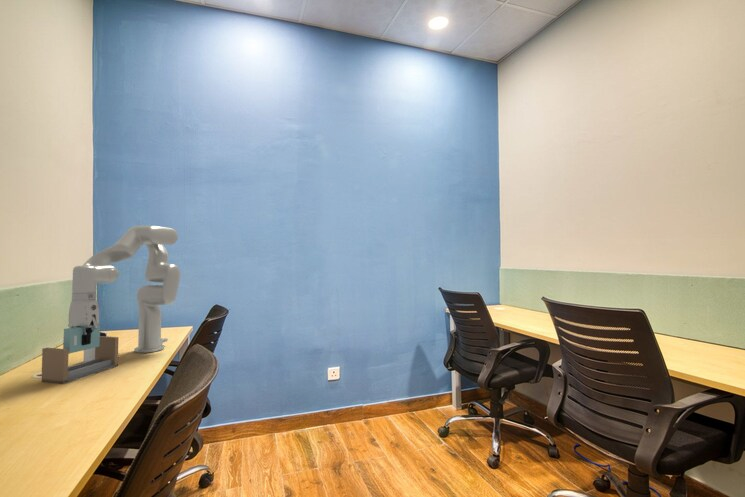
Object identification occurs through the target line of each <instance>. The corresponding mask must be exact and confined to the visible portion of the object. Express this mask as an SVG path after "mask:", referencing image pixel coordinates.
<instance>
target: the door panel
mask: <svg viewBox="0 0 745 497" xmlns="http://www.w3.org/2000/svg"><path fill="white" fill-rule="evenodd" d="M87 329H88V328H87ZM100 332H101V324H100V323H99V324H98V328H96V329H94V331H93V333H92V334H91V343H90V344H87V345H82V335H84V334H83V327H73V328H69V327H68V328H64V329H63V344H62V349H69V354H74V353H78V352H82V351H83V352H84V350H87V349H91V348H95V347H99V344H100Z"/></svg>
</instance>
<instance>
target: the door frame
mask: <svg viewBox="0 0 745 497" xmlns="http://www.w3.org/2000/svg"><path fill="white" fill-rule="evenodd" d="M41 351H42V353H41V382H42V383H50V384H52V383H53V384H60V385H65V384H67V383H70V382H73V381H76V380H80V379H83V378H86V377H88V376H91V375H95V374H98V373H101V372H104V371H107V370H110V369H112V368H116V367H118V366H119V337H118V336H100V344H99V347H95V359H94V360H91V361H87V362H84V361H83V362H81V363H77V364H73V365H70V366H69V349H63V348H55V347H44V348H42V350H41Z"/></svg>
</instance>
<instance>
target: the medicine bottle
mask: <svg viewBox="0 0 745 497" xmlns="http://www.w3.org/2000/svg"><path fill="white" fill-rule="evenodd" d="M100 336H107V332H104V331H100ZM94 359H95V348H91V349H87V350H83V363H84V362H87V361H91V360H94Z"/></svg>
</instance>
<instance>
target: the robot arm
mask: <svg viewBox="0 0 745 497" xmlns="http://www.w3.org/2000/svg"><path fill="white" fill-rule="evenodd" d="M178 239H179V235H178V232H177V230H176V229H174V228H173V227H172V228H171V227H168V226H167V227H165V226H158V225H134V226H131V227H130V228H128V230H127V231H126V232H125V233H123V235H122V236H121V237H120V238H119V239H118V240H117V241H116V242H115V243H114V244H113V245H111V246H109V247H106V248H105V249H103V250H101V251H99V252H97V253H95V254H93V255H92V256H90V257H89V258H88V259H87V260H86V261H85V262H84V263H83V264H82V265H75V266H74V267H73V268H72V269H73V270H72V283H71V284H72V285H71V286H72V287H71V302H70V306H69V309H68V310H69V311H68V319H67V320H68V325H67V326H68V328H73V327H83V334H84V335H82V345H87V344H90V343H91V334H92V333H93V331H94V329H96V328H98V324H100V307H99V303H98V300H97V284H111V283H114V282H115V281H116V280H117V279H118V278H119V275H120V273H119V270H118V268H117V267H115V266H113V265H112V264H116V263H119V262H123V261H126V260H129V259H130V258H132V257H133V256H134V255H135V254H136V253H137V251H138V250H139V249H140V248H141V247H142V246H143V245H145V247H146V248H147V251H148V258H147V263H146V268H145V274H144V278H145V280H146V281H147V282H149V283H156V284H147V285H146V284H145V285H143V286H141V287H140V288H138V290H137V292H136V301H137V305H138V306H137V307H138V332H137V334H138V336H137V337H138V338H137V339H138V341H137V347H135V348H134V349H133V351H134V352H135V353H137V354H139V353H140V354H143V353H145V354H146V353H155V352H159V351H162V350H164V349H165V345H163V344H164V343H167V342H168V340H169V339H168V337H165V338H162V310H161V308H160V306H169V305H172V304H173V303H174V302H175V301H176V298H177V296H178V290H179V285H180V280H181V271H180V270H181V269H180V268H179V267H178V266H177V265H176V264H174V263H168V262H169V261H168V260H169V253H168V252H169V251H168V250H167V248H166V247H165V246H172V245H174V244H176V243H177V241H178ZM158 283H159V284H161V283H162V285H159V284H158ZM87 328H88V329H87Z"/></svg>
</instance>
